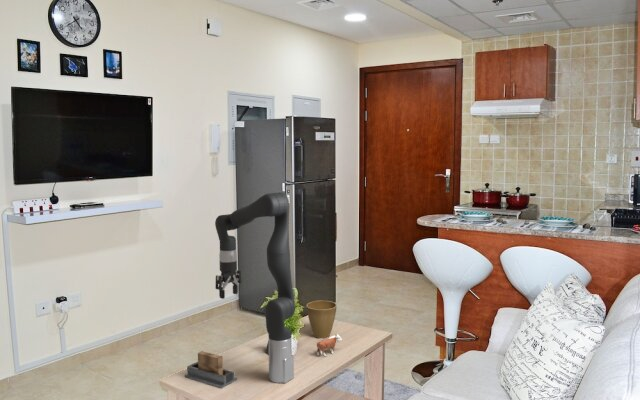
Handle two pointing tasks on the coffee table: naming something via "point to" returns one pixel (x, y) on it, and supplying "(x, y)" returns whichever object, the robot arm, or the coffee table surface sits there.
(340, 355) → the coffee table surface
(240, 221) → the robot arm
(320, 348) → the bull figurine
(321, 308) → the plant pot
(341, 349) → the coffee table surface
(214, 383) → the bottom track
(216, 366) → the door panel
